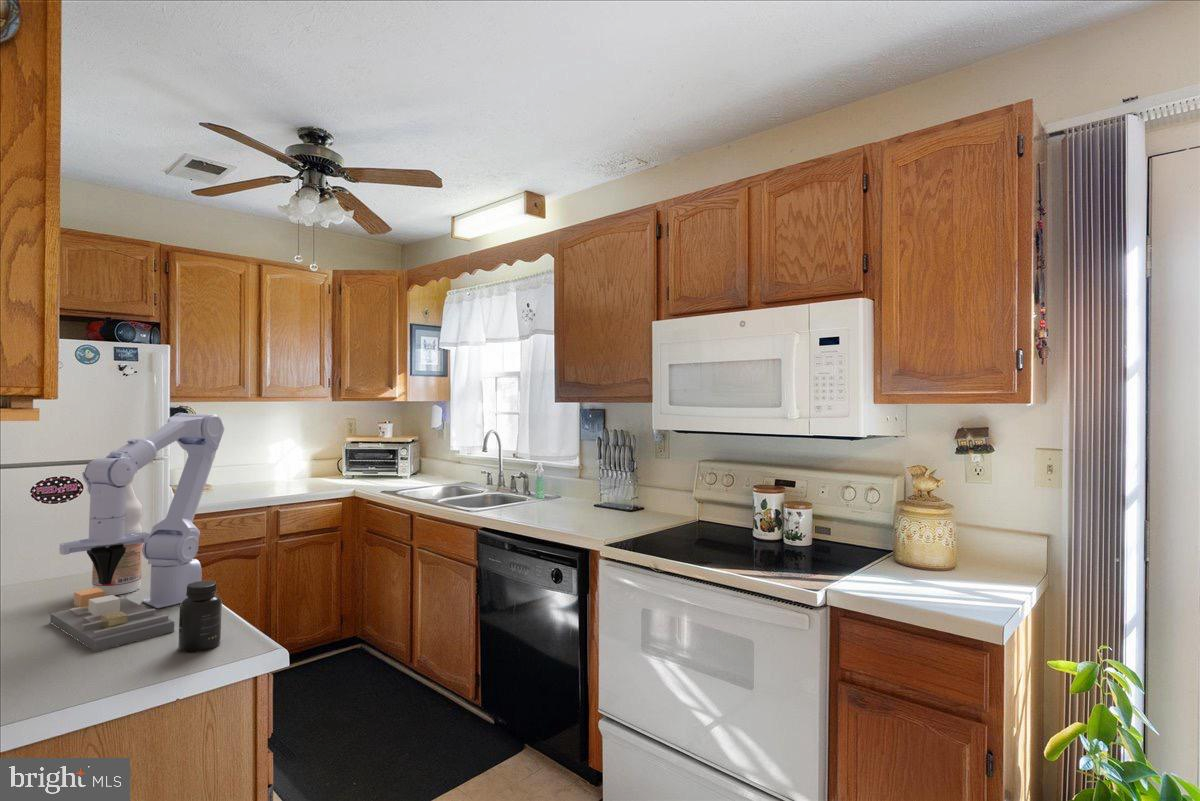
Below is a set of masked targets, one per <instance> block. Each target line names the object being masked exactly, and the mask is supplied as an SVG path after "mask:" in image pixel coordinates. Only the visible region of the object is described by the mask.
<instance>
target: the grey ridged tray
mask: <svg viewBox="0 0 1200 801" xmlns="http://www.w3.org/2000/svg"><path fill="white" fill-rule="evenodd" d="M88 608H89V606H87V607H82V608H81V607H79V606H77V607H72V608H69V609H65V610H61V611H56V612H51V613H50V617H49V618H50V621H49V622H51V623H53V624H54V625H56V626H57V627H59V628H60V629H62V630H64V631H65V632H67V633H68V634H70V635H72V636H73V637H75V638H76V639H78V640H79V641H81V642H82V643H84V644H85V645H87V646H88V647H87V646H86V647H87V648H89V647H90V648H91V649H90V648H89V649H90V650H92V649H93V650H94V652H95V651H96V652H99V651H98V650H100V651H103V650H102V649H104V650H107V649H111V648H114V647H113V646H115V647H118V646H117V645H119V646H123V645H126V644H125V643H127V644H130V642H131V643H134V642H133V641H135V642H138V641H137V640H139V641H142V639H143V640H146V639H150V638H154V637H158V636H161V634H162V635H166V634H169V632H170V633H173V631H174V632H175V621H174V620H172V619H170V618H169V615H168V614H162V615H161V614H159V613H157V611H156V608H151V609H150V608H148V607H145V606H143V605H142V604H141V605H140V604H138V603H137V602H135V601H133V600H131V599H129V598H125V597H124V598H120V611H121V612H123V613H125V614H127V615H128V620H127V624H123V625H119V626H115V627H110V628H106V629H103V628H101V615H98V616H95V615H93V614H91V613H90V612H88ZM51 623H50V624H51ZM54 625H53V626H54ZM56 626H55V627H56ZM57 627H56V628H57ZM59 628H58V629H59ZM60 629H59V630H60ZM62 630H61V631H62ZM65 632H64V633H65ZM67 633H66V634H67ZM165 633H166V634H165ZM68 634H67V635H68ZM70 635H69V636H70ZM153 636H154V637H153ZM73 637H72V638H73ZM149 637H150V638H149ZM76 639H75V640H76ZM78 640H77V641H78ZM79 641H78V642H79ZM81 642H80V643H81ZM82 643H81V644H82ZM84 644H83V645H84ZM122 644H123V645H122ZM85 645H84V646H85ZM110 647H111V648H110ZM106 648H107V649H106ZM93 650H92V651H93Z"/></svg>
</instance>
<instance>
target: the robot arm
mask: <svg viewBox="0 0 1200 801" xmlns="http://www.w3.org/2000/svg"><path fill="white" fill-rule="evenodd" d="M224 431H225V427H224V424H223V422H222V418H221V417H220V415H218V414H216V413H210V414H209V413H206V414H205V413H184V412H178V413H175V414H174V415H172V416H169V417H168V419H167V422H166V423H165V424H163V425H162V426H161V427H160V428H158V429H157V430H156V431H154V432H153V433H151V435H149V436H148V437H146V438H141V437H140V438H130V439H129V440H127V441H126V443H127V444H125V445H123V446H122V447H119V448H118V449H116V450H112V451H110V452H109V454H108V455H106V456H105V457H96V458H94V459H92V460H91V461H90V462H89V463H87V464H86V466H85V468H84V471H83V472H81V473H82V474H81V475H82V479H83V481H84V483H85V484H86V486H87V493H88V494H89V517H88V518H89V519H88V520H89V522H88V523H89V524H88V538H83V539H79V540H73V541H68V542H62V543H59V554H60V555H63V556H64V555H70V554H73V553H80V552H86V553H87V555H88V557H89V558H90V560H91V562H92V565H93V564H94V566H95V569H96V571H97V575H98V579H99V583H100V584H102V585H106V584H111V581H112V578H113V574H114V572H115V569H116V567H117V565H118V563H119V561H120V559H121V558H122V556H123V555H124V554H125V551H126V548H125V547H124V545H130V544H137V543H142V557H144V558H145V559H146V560H148V561H147V563H148V565H150V588H149V590H150V591H149V597H148V598H143V599H142V600H141V602H142V603H144V604H147V605H148V606H151V607H153V608H154V609H161V608H166V607H169V606H174V605H175V606H176V605H179V604H181V603H182V601H183V600H184V599H186V598H188V596H186V592H187V585H188V584H190V583H193V582H197V581H203V580H202V577H203V576H202V575H203V574H202V572H203V570H202V564H201V562H200V560H198V559H197V558H195V557H196V555H197V553H198V551H199V545H200V544H199V539H200V535H201V531H200V530H199V529H198V527H197V526H196V525H195V524H194V523H193V522H194V518H195V516H196V513H197V510H198V506H199V504H200V501H201V499H202V495H203V492H204V489H205V488H206V483H207V480H208V477H209V475H210V472H211V469H212V466H213V462H214V460H215V458H216V453H217V451H218V449H219V446H220V443H221V440H222V438H223V434H224ZM175 442H177V444H178V445H179V446H180V447H181V448H182V450H183V451H185V452H187V454H188V456H187V458H186V461H185V464H184V466H183V470H182V473H181V476H180V478H179V481H178V483H177V486H176V490H175V491H174V495H173V497H172V501H171V503H170V506H169V509H168V511H167V514H166V517H165V518H164V519H163V520H161V521H159V522H158V523H155V525H153V526H152V528H151V531H150V532H147V531H145V532H143V533H133V534H124V531H125V501H126V485H127V484H129V483H130V482H131V481H132V479H133V480H134V476H135V475H136V474H137V473H138V471H139V470H141V469H142V468H143V467H146V466H147V465H148V464H150V463H151V462H153V461H154V460H155V459H156V457H157V453H158V452H159V451H160V450H162V449H164V448H165V447H167V446H169V445H172V443H175ZM132 482H133V481H132ZM101 545H102V546H101Z"/></svg>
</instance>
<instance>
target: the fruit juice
mask: <svg viewBox="0 0 1200 801" xmlns="http://www.w3.org/2000/svg"><path fill="white" fill-rule="evenodd" d="M133 480H134V478H133V479H132V481H131V482H130V483H129V484H127V485H126V501H125V531H124V534H133V533H143V526H142V525H141V519H142V516H143V512H144V509H143V508H144V507H143V505H142V503H141V502H140V501H139V499H138V497H137V495H136V493H135V491H134V487H133V484H132V482H133ZM101 546H102V545H101ZM124 547H125V548H126V551H125V554H124V555H123V556H122V558H121V559H120V561H119V563H118V565H117V567H116V569H115V572H114V574H113V578H112V581H111V584H106V585H102V584H100V583H99V579H98V575H97V571H96V569H95V566H94V564H93V563H92V570H91V571H92V577H91V589H92V588H100V589H102V590H104V591H105V596H109V595H114V596H118V595H124V594H129V593H132V592H134V591H137V590H139V589H140V588H141V585H142V567H143V566H142V562H143V553H142V547H143V543H137V544H130V545H124Z"/></svg>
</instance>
